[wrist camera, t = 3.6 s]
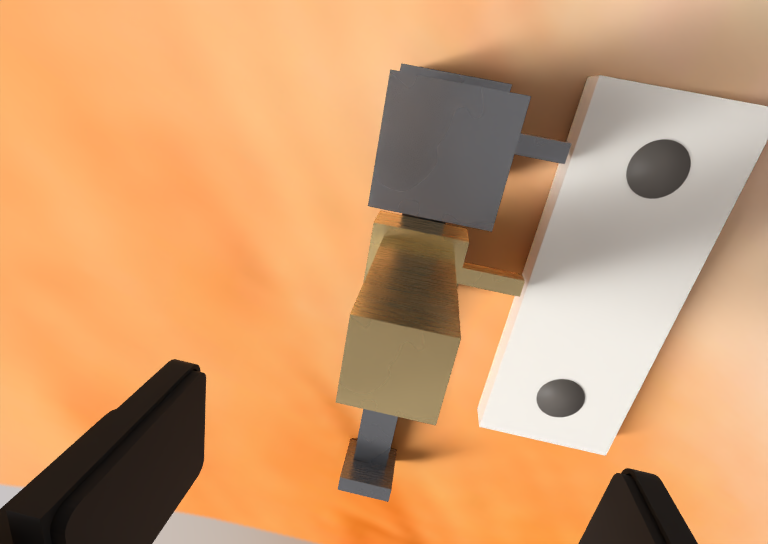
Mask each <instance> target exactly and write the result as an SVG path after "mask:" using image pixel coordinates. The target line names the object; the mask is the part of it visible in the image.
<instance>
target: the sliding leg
mask: <svg viewBox="0 0 768 544" xmlns="http://www.w3.org/2000/svg"><path fill="white" fill-rule="evenodd" d="M468 245H469V238H468V232H467V228H462V227H457V226H452V225H448V224H443V223H438V222H433V221H428V220H423V219H419V218H414V217H409V216H404V215H399V214H394V213H389V212H385V211H380V212H379V214H378V216H377V218H376V219H375V221H374V224H373V230H372V236H371V242H370V248H369V253H368V259H367V265H366V271H365V277H364V282H363V286H362V288H361V290H360V293H359V295H358V297H357V300H356V302H355V304H354V307H353V309H352V311H351V314H350V319H349V325H348V331H347V337H346V343H345V349H344V355H343V361H342V367H341V373H340V379H339V385H338V392H337V398H336V403H341V404H345V405H349V406H354V407H358V408H362V409H367V410H371V411H375V412H380V413H384V414H388V415H393V416H397V417H401V418H406V419H410V420H414V421H419V422H423V423H427V424H432V425H436V423H437V420H438V416H439V413H440V409H441V406H442V402H443V399H444V395H445V392H446V388H447V385H448V382H449V378H450V375H451V371H452V368H453V364H454V361H455V357H456V354H457V350H458V347H459V344H460V340H461V333H460V320H459V306H458V293H457V286H458V284H462V285H466V286H471V287H476V288H481V289H485V290H490V291H495V292H499V293H504V294H509V295H513V296H518V297H520V295H521V292H522V289H523V286H524V283H525V280H524V277H523V275H522V274H519V273H514V272H509V271H504V270H500V269H495V268H490V267H485V266H481V265H476V264H471V263H466V262H464V260H465V256H466V253H467V249H468Z"/></svg>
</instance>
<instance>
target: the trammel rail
mask: <svg viewBox="0 0 768 544" xmlns="http://www.w3.org/2000/svg"><path fill="white" fill-rule="evenodd" d="M511 86H512V84H507V83H502V82H497V81H491V80H486V79H481V78H476V77H470V76H465V75H460V74H454V73H449V72H444V71H438V70H433V69H428V68H423V67H417V66H412V65H407V64H401V68H400V71H395V70H390V75H389V81H388V87H387V93H386V99H385V105H384V112H383V118H382V124H381V130H380V136H379V142H378V148H377V154H376V160H375V166H374V172H373V179H372V185H371V191H370V197H369V203H368V206H370V207H375V208H380V209H384V210H389V211H394V212H399V213H402V215H404V216H409V217H414V218H419V219H423V220H428V221H433V222H438V223H443V224H445V222H448V223H452V224H457V225H462V226H467V227H472V228H477V229H481V230H486V231H491V232H492V230H493V226H494V223H495V219H496V216H497V212H498V209H499V205H500V202H501V199H502V195H503V192H504V188H505V185H506V181H507V178H508V174H509V171H510V167H511V164H512V161H513V157H514V154H516V155H521V156H526V157H531V158H536V159H541V160H546V161H551V162H556V163H561V164H565V162H566V159H567V156H568V153H569V150H570V147H571V143H569V142H565V141H560V140H555V139H550V138H545V137H540V136H534V135H529V134H524V133H521V129H522V126H523V123H524V119H525V116H526V112H527V109H528V105H529V102H530V98H531V96H527V95H522V94H516V93H511V92H510V90H511ZM397 419H398V417H397V416H393V415H388V414H384V413H380V412H375V411H371V410H367V409H363V414H362V419H361V424H360V429H359V434H358V440H353V439H350V443H349V446H348V450H347V454H346V457H345V461H344V465H343V468H342V472H341V476H340V481H339V486H338V490H342V491H346V492H350V493H354V494H358V495H363V496H367V497H371V498H375V499H379V500H383V501H387V502H388V501H389V497H390V493H391V488H392V481H393V473H394V466H395V458H396V449H392V448H391V444H392V440H393V435H394V431H395V427H396V423H397Z"/></svg>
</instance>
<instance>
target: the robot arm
mask: <svg viewBox="0 0 768 544" xmlns="http://www.w3.org/2000/svg"><path fill="white" fill-rule="evenodd" d="M205 397H206V375H205V373H202V372H200V367H199V365H197V364H192V363H188V362H184V361H180V360H176V359H174V360H171V361H169V362H168V363H167V364H166V365H165V366H164V367H162V368H161V369H160V370H159V371H158V372H157V373H156V374H155V375H154V376H153V377H151V378H150V379H149V380H148V381H147V382H146V383H145V384H144V385H143V386H142V387H140V388H139V389H138V390H137V391H136V392H135V393H134V394H133V395H132V396H130V397H129V398H128V399H127V400H126V401H125V402H124V403H123V404H122V405H121V406H119V407H118V408H117V409H115V410H112V411H110V412H109V413H108V414H106V415H105V416H104V417H103V418H102V419H100V420H99V421H98V422H97V423H96V424H95V425H94V426H93V427H91V428H90V429H89V430H88V431H87V432H86V433H85V434H84V435H83V436H81V437H80V438H79V439H78V440H77V441H76V442H75V443H74V444H72V445H71V446H70V447H69V448H68V449H67V450H66V451H65V452H64V453H62V454H61V455H60V456H59V457H58V458H57V459H56V460H55V461H53V462H52V463H51V464H50V465H49V466H48V467H47V468H46V469H45V470H43V471H42V472H41V473H40V474H39V475H38V476H37V477H36V478H34V479H33V480H32V481H31V482H30V483H29V484H28V485H27V486H25V487H24V488H23V489H22V490H21V491H20V492H19V493H18V494H17V495H15V496H14V497H13V498H12V499H11V500H10V501H9V502H8V503H6V504H5V505H4V506H3V507H2V508H1V509H0V544H152V543H153V542H154V540H155V539H156V537H157V536H158V534H159V533H160V531H161V530H162V528H163V527H164V525H165V524H166V522H167V521H168V519H169V518H170V516H171V515H172V514H173V512H174V511H175V509H176V508H177V506H178V505H179V503H180V502H181V500H182V499H183V497H184V496H185V494H186V493H187V492H188V490H189V489H190V487H191V486H192V484H193V483H194V481H195V480H196V478H197V477H198V475H199V473H200V471H201V469H202V466H203V462H204V437H205ZM579 544H698V543H697V542H696V540H695V538H694V536H693V535H692V533H691V531H690V529H689V528H688V526H687V524H686V522H685V521H684V519H683V517H682V516H681V514H680V512H679V510H678V509H677V507H676V505H675V503H674V502H673V500H672V498H671V496H670V495H669V493H668V491H667V490H666V488H665V486H664V484H663V483H662V481H661V480H660V478H659V477H658V476H656V475H654V474H650V473H646V472H642V471H638V470H634V469H628V468H626V469H624V470H623V471H622V473H621V474H620V473H616V474H615V475H614V476H613V477H612V479H611V481H610V483H609V485H608V487H607V489H606V491H605V493H604V495H603V497H602V499H601V501H600V503H599V505H598V507H597V509H596V511H595V513H594V515H593V517H592V518H591V520H590V522H589V524H588V526H587V528H586V530H585V532H584V534H583V536H582V538H581V540H580V542H579Z"/></svg>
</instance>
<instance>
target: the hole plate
mask: <svg viewBox="0 0 768 544" xmlns="http://www.w3.org/2000/svg"><path fill="white" fill-rule="evenodd" d="M767 140H768V106H763V105H758V104H752V103H747V102H741V101H736V100H731V99H725V98H720V97H714V96H709V95H704V94H698V93H693V92H687V91H682V90H677V89H671V88H666V87H661V86H655V85H650V84H644V83H639V82H634V81H628V80H623V79H617V78H612V77H607V76H601V75H598V76H591V77H588V78H587V81H586V84H585V87H584V90H583V93H582V96H581V99H580V102H579V105H578V108H577V111H576V114H575V117H574V120H573V123H572V126H571V129H570V132H569V135H568V138H567V141H566V142H569V143H571V147H570V150H569V153H568V156H567V159H566V162H565V164H561V163H559V165H558V168H557V171H556V174H555V177H554V180H553V183H552V186H551V189H550V192H549V195H548V198H547V201H546V204H545V207H544V210H543V213H542V216H541V219H540V222H539V225H538V228H537V231H536V234H535V237H534V240H533V243H532V246H531V249H530V252H529V255H528V258H527V261H526V264H525V267H524V270H523V273H522V275H523V277H524V280H525V283H524V286H523V289H522V292H521V295H520V297H518V296H515V297H514V300H513V303H512V306H511V309H510V312H509V315H508V318H507V321H506V324H505V327H504V330H503V333H502V336H501V339H500V342H499V345H498V348H497V351H496V354H495V357H494V360H493V363H492V366H491V369H490V372H489V375H488V378H487V381H486V384H485V387H484V390H483V393H482V396H481V399H480V402H479V405H478V408H477V410H478V419H479V427H483V428H488V429H492V430H496V431H501V432H505V433H509V434H514V435H518V436H522V437H527V438H531V439H536V440H540V441H544V442H549V443H553V444H557V445H562V446H566V447H570V448H575V449H579V450H583V451H588V452H592V453H597V454H601V455H605V456H606V454H607V452H608V450H609V448H610V446H611V444H612V442H613V440H614V438H615V436H616V435H617V433H618V431H619V429H620V427H621V425H622V423H623V421H624V419H625V417H626V415H627V413H628V411H629V409H630V407H631V405H632V403H633V401H634V399H635V398H636V396H637V394H638V392H639V390H640V388H641V386H642V384H643V382H644V380H645V378H646V376H647V374H648V372H649V370H650V368H651V366H652V364H653V362H654V360H655V359H656V357H657V355H658V353H659V351H660V349H661V347H662V345H663V343H664V341H665V339H666V337H667V335H668V333H669V331H670V329H671V327H672V325H673V323H674V322H675V320H676V318H677V316H678V314H679V312H680V310H681V308H682V306H683V304H684V302H685V300H686V298H687V296H688V294H689V292H690V290H691V288H692V286H693V284H694V283H695V281H696V279H697V277H698V275H699V273H700V271H701V269H702V267H703V265H704V263H705V261H706V259H707V257H708V255H709V253H710V251H711V249H712V247H713V246H714V244H715V242H716V240H717V238H718V236H719V234H720V232H721V230H722V228H723V226H724V224H725V222H726V220H727V218H728V216H729V214H730V212H731V210H732V208H733V207H734V205H735V203H736V201H737V199H738V197H739V195H740V193H741V191H742V189H743V187H744V185H745V183H746V181H747V179H748V177H749V175H750V173H751V171H752V170H753V168H754V166H755V164H756V162H757V160H758V158H759V156H760V154H761V152H762V150H763V148H764V146H765V144H766V142H767Z"/></svg>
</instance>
